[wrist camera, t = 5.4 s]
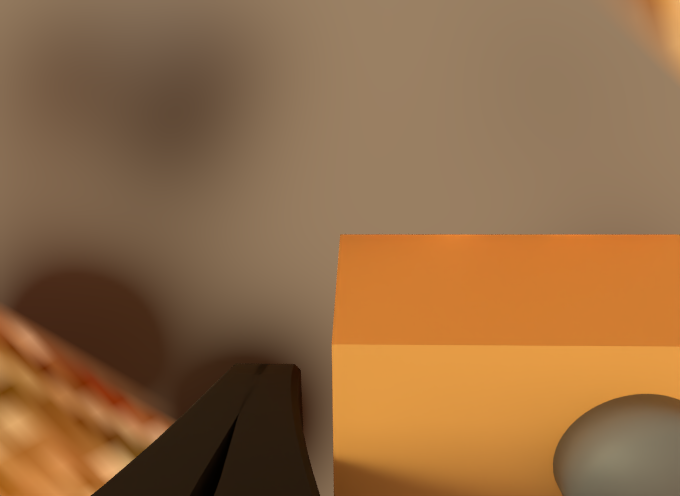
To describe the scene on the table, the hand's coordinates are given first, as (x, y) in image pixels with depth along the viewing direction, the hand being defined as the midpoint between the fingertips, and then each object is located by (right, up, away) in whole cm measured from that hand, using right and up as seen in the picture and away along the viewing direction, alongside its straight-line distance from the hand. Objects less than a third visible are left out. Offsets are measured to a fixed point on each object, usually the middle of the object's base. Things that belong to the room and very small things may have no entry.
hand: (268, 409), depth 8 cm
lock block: (+5, 0, +1) cm, 5 cm away
